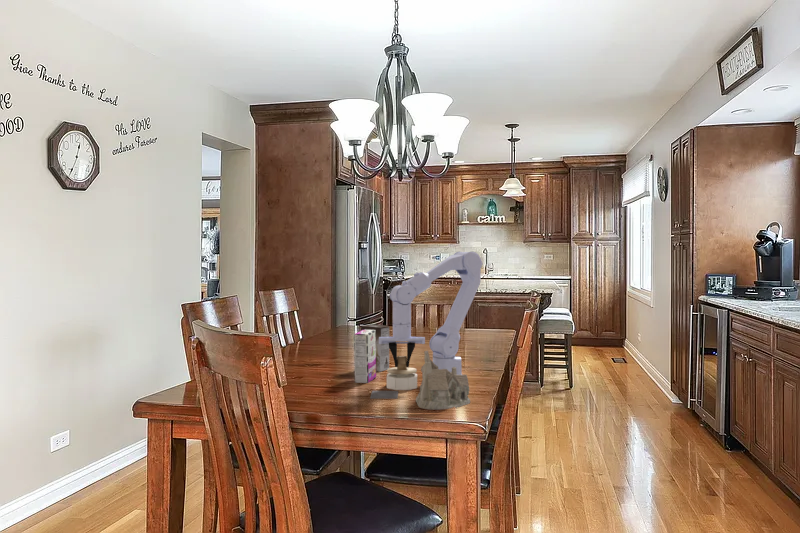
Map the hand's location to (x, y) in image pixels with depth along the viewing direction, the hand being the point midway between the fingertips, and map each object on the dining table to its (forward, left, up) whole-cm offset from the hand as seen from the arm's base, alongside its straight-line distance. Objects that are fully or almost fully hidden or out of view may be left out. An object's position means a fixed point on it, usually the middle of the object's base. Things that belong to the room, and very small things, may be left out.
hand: (401, 366), depth 189 cm
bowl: (0, 0, -7) cm, 7 cm away
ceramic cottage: (-12, +20, -7) cm, 25 cm away
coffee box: (+10, -31, -7) cm, 33 cm away
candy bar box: (+12, -11, -7) cm, 18 cm away
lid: (0, 0, -2) cm, 2 cm away
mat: (+5, +11, -7) cm, 14 cm away
